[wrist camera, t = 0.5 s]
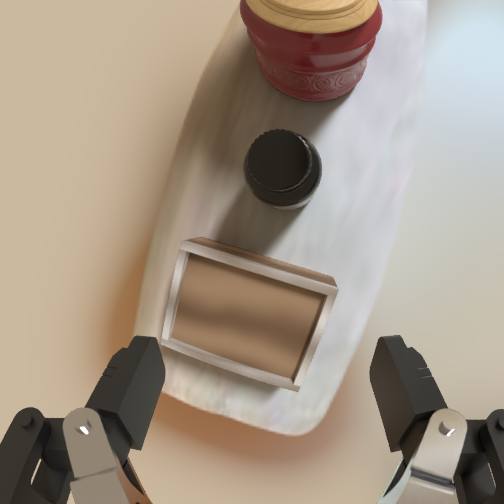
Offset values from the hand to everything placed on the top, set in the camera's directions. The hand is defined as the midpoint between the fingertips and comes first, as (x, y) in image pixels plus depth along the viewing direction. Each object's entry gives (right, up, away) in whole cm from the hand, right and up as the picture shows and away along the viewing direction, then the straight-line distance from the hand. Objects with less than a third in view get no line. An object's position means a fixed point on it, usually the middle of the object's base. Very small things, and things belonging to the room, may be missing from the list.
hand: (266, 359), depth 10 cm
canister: (+7, +27, +20) cm, 35 cm away
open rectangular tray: (0, -2, +25) cm, 25 cm away
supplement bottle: (+4, +12, +23) cm, 26 cm away
